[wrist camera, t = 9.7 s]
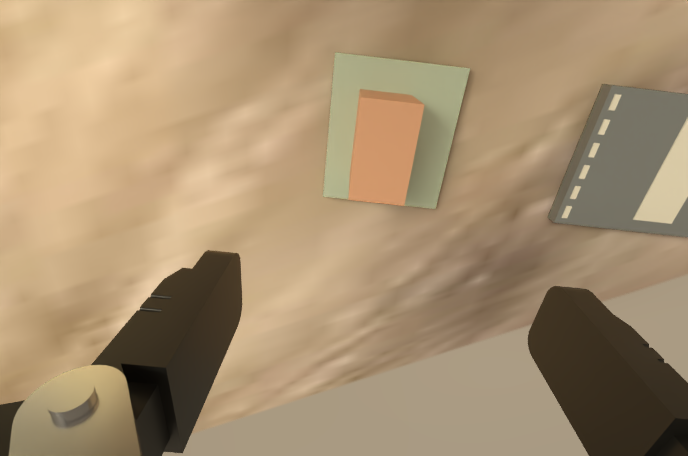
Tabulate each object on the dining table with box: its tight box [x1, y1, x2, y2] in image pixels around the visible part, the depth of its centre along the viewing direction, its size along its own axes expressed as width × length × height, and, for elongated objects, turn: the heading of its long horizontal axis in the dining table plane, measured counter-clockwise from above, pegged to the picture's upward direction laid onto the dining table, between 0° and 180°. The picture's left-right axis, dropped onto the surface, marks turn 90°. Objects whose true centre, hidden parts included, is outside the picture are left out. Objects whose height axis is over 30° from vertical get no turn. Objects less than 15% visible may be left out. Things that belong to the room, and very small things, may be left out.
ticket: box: [548, 84, 688, 237], centre depth 25 cm, size 10×12×1 cm
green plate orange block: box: [323, 52, 470, 209], centre depth 23 cm, size 10×9×6 cm
